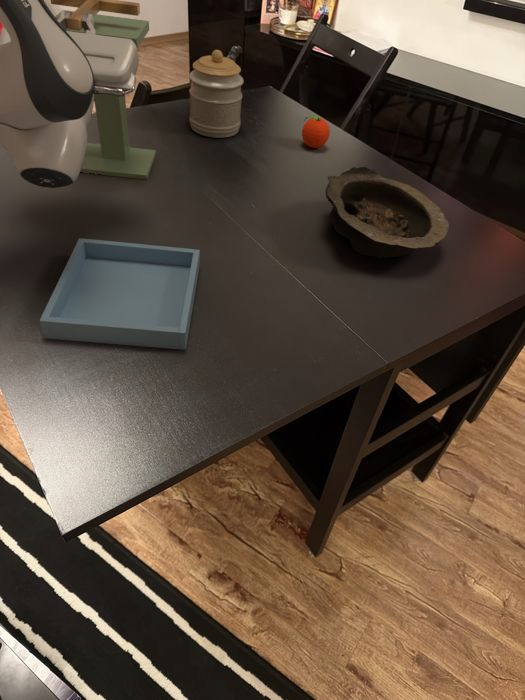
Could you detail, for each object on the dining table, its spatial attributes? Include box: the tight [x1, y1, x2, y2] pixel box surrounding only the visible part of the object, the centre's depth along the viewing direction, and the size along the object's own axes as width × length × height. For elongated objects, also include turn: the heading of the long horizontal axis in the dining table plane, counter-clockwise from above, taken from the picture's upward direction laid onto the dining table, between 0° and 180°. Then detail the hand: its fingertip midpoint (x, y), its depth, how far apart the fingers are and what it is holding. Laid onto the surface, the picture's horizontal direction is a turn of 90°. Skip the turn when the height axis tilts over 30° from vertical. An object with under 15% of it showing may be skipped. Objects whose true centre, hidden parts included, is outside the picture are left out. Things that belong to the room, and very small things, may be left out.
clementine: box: [301, 115, 331, 149], centre depth 119 cm, size 8×7×7 cm
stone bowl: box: [325, 166, 450, 259], centre depth 93 cm, size 25×25×9 cm
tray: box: [39, 237, 201, 351], centre depth 75 cm, size 20×20×4 cm
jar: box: [188, 49, 245, 139], centre depth 116 cm, size 13×13×18 cm
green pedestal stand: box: [54, 9, 157, 181], centre depth 96 cm, size 16×12×26 cm
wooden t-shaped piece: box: [50, 0, 141, 31], centre depth 79 cm, size 15×15×4 cm
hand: (78, 15), depth 76 cm, fingers closed on wooden t-shaped piece, 2 cm apart
